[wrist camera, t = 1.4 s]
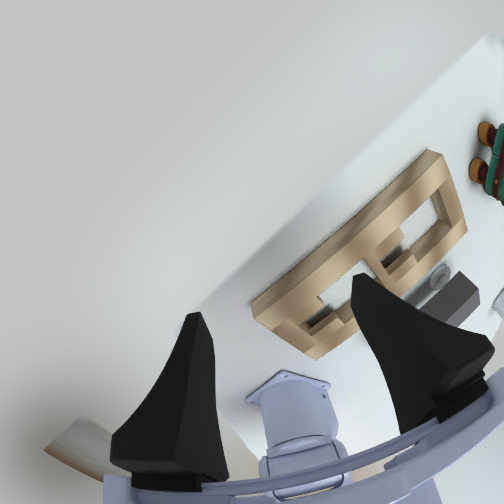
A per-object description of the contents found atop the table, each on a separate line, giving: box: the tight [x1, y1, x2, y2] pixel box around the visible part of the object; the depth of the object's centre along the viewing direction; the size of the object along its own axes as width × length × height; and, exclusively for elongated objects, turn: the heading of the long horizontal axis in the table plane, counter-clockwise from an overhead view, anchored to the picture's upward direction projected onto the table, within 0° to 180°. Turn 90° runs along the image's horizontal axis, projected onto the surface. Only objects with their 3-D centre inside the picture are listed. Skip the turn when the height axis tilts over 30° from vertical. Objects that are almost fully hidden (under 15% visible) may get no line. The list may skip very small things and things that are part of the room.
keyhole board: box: [251, 149, 468, 361], centre depth 23 cm, size 22×10×2 cm, turn 133°
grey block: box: [419, 265, 480, 327], centre depth 26 cm, size 13×4×7 cm, turn 133°
